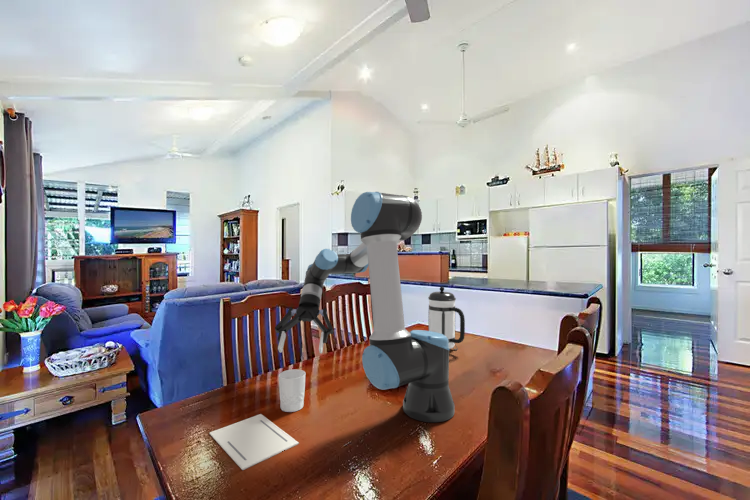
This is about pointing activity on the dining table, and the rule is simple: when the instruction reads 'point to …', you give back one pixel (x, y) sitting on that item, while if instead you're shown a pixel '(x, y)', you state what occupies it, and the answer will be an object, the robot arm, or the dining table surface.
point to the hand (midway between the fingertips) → (300, 351)
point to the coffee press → (445, 316)
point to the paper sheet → (252, 440)
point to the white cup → (292, 390)
